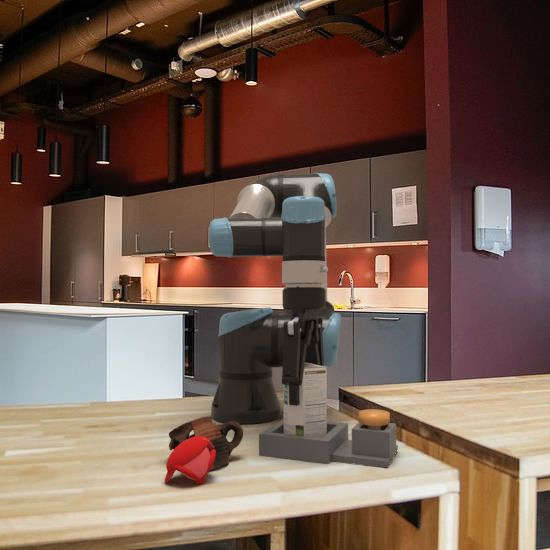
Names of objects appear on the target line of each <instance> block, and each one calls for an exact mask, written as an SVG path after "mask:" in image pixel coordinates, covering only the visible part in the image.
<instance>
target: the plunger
mask: <svg viewBox="0 0 550 550" xmlns="http://www.w3.org/2000/svg"><path fill="white" fill-rule="evenodd" d="M390 414H391V413H390V412H389V411H387V410H383V409H376V408H373V409H372V408H371V409H369V408H368V409H362V410H358V422H359V423H361V424H364V425H368V429H374V430H381V427H380V426H383V425H388V424H389V423H391V422H390V421H391V419H390V417H391V415H390Z"/></svg>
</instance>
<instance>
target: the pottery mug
mask: <svg viewBox="0 0 550 550" xmlns="http://www.w3.org/2000/svg"><path fill="white" fill-rule="evenodd" d="M192 431H193V433H192ZM230 431H233V438H232V440H231V441H229V440H228V439H227V436H228V434H229V432H230ZM191 433H192V434H191ZM190 434H191V435H190ZM168 436H169V438H170V439H169V440H170V441H169V444H168V448H169V451H173V450H174V449H175V448H176V447H177V446H178V445H179V444H181V443H182V442H183V441H185V440H187V439H189V438H192V437H195V436H204V437H207V438H208V439H209V440H210V442H211V443H212V444H213V446H214V449H215V451H216V456H215V460H214V462H213V465H212V467H211V469H210V470H209V471H211V470H212V469H215V468H218V467H219V468H221V467H224V466H228V465H229V464H230V463H229V462H230V460H229V457H230V456H231V454H232V452H233V451H234V450H235V449H236V448H237V447H238V446H239V445H240V444H241V442H242V440H243V438H244V437H243V436H244V429H243V427H242V425H241V424H239V423H238V422H236V421H228V422H223V423H220V424H217V423H214V422H213V418H212V417H211V415H208V416H201V417H198V418H195V419H193V420H190V421H187V422H185V423H183V424H180V425H179V426H177V427H174V428H173V429H172V430H171V431H169V433H168Z"/></svg>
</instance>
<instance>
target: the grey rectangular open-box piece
mask: <svg viewBox="0 0 550 550" xmlns="http://www.w3.org/2000/svg"><path fill="white" fill-rule="evenodd" d="M380 427H381V430H374V429H368V425H364V424H361V423H359V421H358V422H357V423H356V424H355V425H354V426H353V427H352V428H351V439H350V440H349V423H345V422H336V421H327V434H326V435H325V436H324V437H323V438H318V437H308V436H299V435H290V434H284V418H282V419H281V420H279V421H278V422H276V423H275V424H273V425H271V426H269V427H267V428H266V429H265V430H263V431H261V432H260V433H258V455H259V456H264V457H271V458H279V459H287V460H288V459H289V460H296V461H303V462H309V463H312V462H313V463H319V464H327V465H329V464H331V463H332V462H335V461H336V463H337V462H338V463H343V462H347V463H346V464H351V463H355V464H354V465H359V464H363V465H362V466H368V465H370V466H369V467H376V466H380V467H379V468H384V467H388V466H389V467H390V465H391V464H390V463H392V462H393V460H394V459H393V457H394V455H395V453H396V452H397V450H398V451H399V445H398V444H397V423H394V422H390V423H389V424H388V425H383V426H380ZM397 453H398V452H397ZM395 456H396V455H395ZM394 458H395V457H394ZM392 459H393V460H392ZM391 461H392V462H391ZM389 467H388V468H389Z"/></svg>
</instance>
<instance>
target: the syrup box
mask: <svg viewBox="0 0 550 550" xmlns="http://www.w3.org/2000/svg"><path fill="white" fill-rule="evenodd" d="M327 368H328V367H325V366H320V365H316V364H312V363H305V365H304V372H303V380H302V385H305V425H304V426H302V425H292V424H288V385H284V384H283V419H284V434H290V435H299V436H308V437H318V438H323V437H324V436H325V435H326V434H327V422H328V420H327V416H328V415H327V414H328V412H327V411H328V409H327V407H328V403H327V400H328V399H327V398H328V397H327V395H328V394H327V389H328V388H327V386H328V385H327V379H328V378H327V377H328V376H327V374H328V373H327ZM292 376H293V375H292Z"/></svg>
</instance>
